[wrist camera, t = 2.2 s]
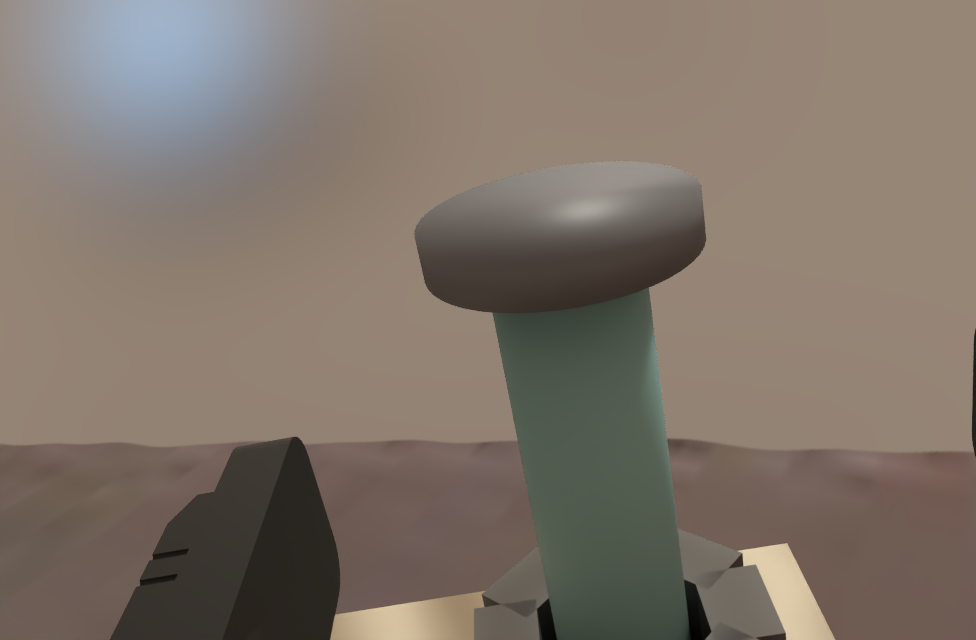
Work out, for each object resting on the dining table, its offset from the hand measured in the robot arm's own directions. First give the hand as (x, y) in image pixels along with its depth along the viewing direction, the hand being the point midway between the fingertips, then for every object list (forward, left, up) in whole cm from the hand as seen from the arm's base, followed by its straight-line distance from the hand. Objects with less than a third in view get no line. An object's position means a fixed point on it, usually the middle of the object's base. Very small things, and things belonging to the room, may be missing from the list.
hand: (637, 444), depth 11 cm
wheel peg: (0, +12, -18) cm, 22 cm away
